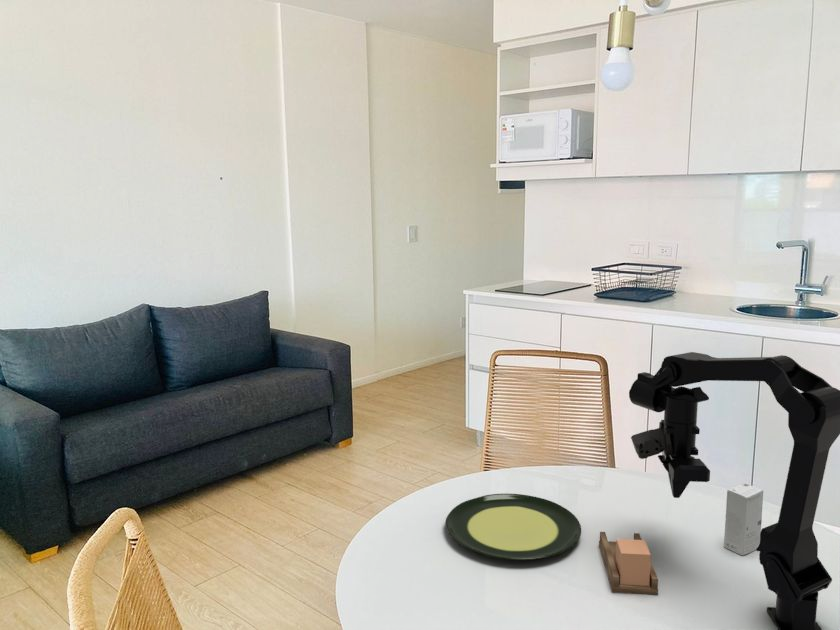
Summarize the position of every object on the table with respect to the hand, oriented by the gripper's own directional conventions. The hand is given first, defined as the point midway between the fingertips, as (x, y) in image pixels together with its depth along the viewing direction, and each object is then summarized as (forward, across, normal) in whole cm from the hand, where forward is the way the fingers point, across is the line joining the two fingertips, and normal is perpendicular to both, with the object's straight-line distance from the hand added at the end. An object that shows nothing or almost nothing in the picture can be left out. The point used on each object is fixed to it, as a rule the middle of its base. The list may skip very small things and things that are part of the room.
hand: (675, 497), depth 126 cm
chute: (+12, +6, -10) cm, 17 cm away
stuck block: (+11, +11, -10) cm, 18 cm away
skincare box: (+12, -4, +14) cm, 19 cm away
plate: (+12, -6, -31) cm, 34 cm away
